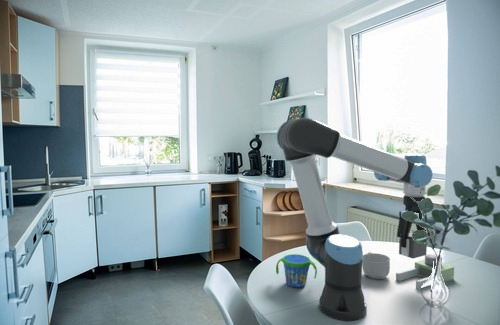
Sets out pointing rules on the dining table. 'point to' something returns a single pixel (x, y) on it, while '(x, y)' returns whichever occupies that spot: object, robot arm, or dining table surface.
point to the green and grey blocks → (426, 271)
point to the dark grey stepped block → (414, 248)
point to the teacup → (376, 265)
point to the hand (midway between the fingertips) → (412, 253)
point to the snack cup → (296, 269)
